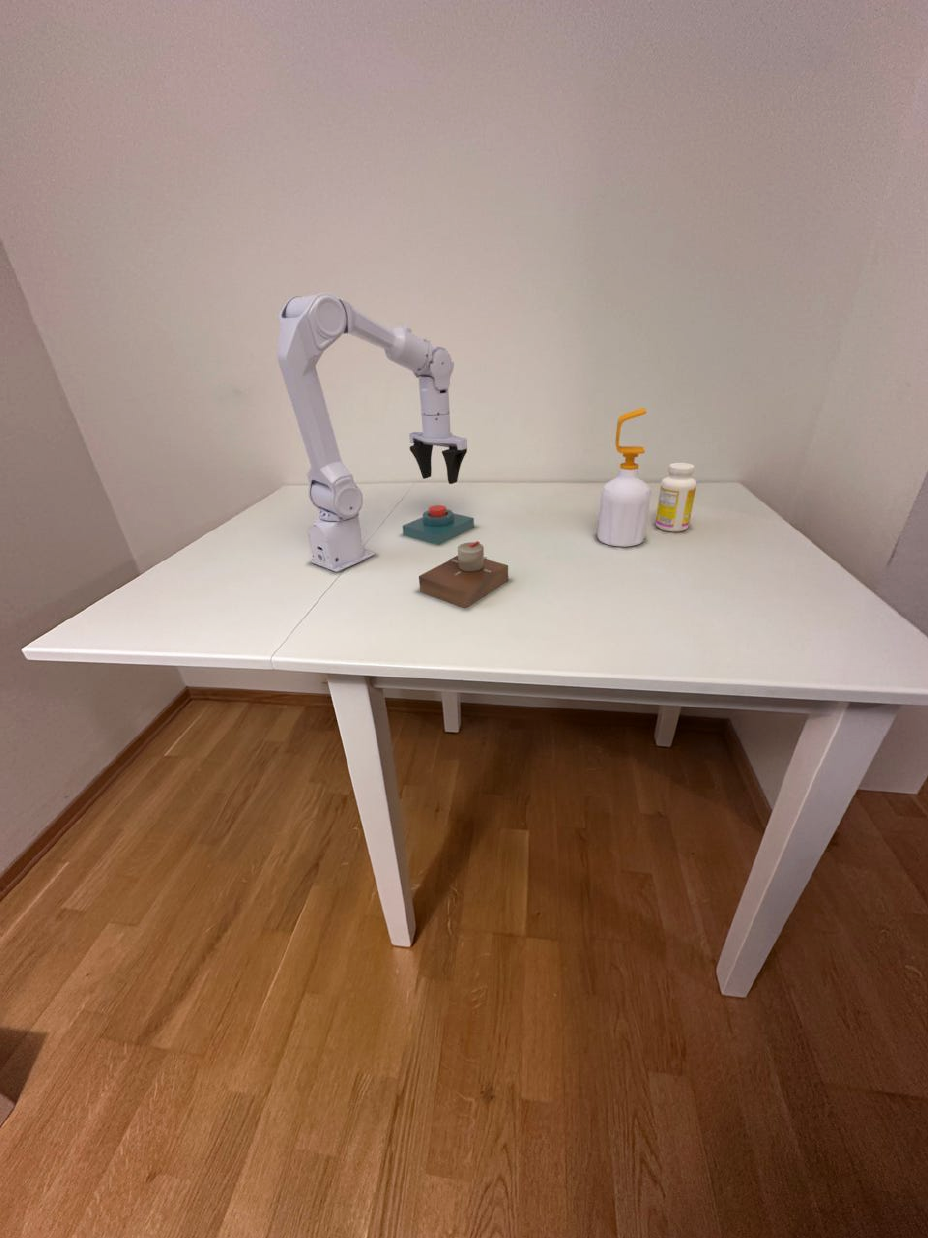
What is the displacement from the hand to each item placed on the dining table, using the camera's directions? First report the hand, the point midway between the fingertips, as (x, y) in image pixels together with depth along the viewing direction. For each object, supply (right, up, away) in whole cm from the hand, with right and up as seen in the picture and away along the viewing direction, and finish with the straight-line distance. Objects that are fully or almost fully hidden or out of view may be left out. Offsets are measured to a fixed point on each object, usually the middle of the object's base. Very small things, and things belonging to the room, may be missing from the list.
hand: (439, 480), depth 110 cm
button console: (0, -11, +1) cm, 11 cm away
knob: (+6, -21, -22) cm, 31 cm away
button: (0, -8, -1) cm, 8 cm away
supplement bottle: (+49, -11, -3) cm, 50 cm away
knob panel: (+5, -24, -22) cm, 33 cm away
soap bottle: (+37, -14, -7) cm, 40 cm away
